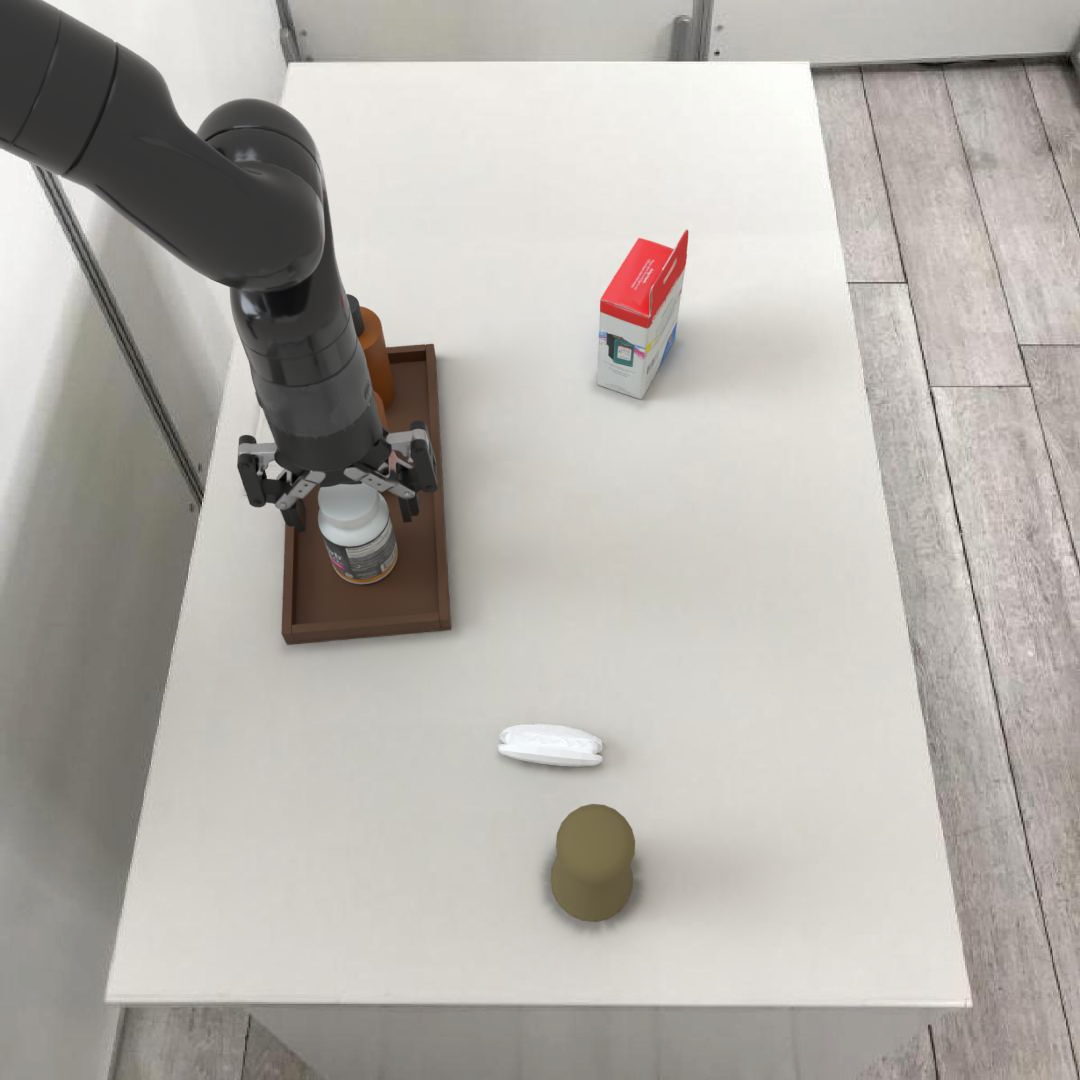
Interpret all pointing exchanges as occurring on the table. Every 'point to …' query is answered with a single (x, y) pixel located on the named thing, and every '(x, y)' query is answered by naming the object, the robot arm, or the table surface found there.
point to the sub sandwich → (551, 745)
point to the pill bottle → (357, 532)
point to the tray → (421, 568)
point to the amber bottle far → (373, 349)
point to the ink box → (640, 316)
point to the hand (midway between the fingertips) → (354, 517)
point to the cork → (593, 863)
